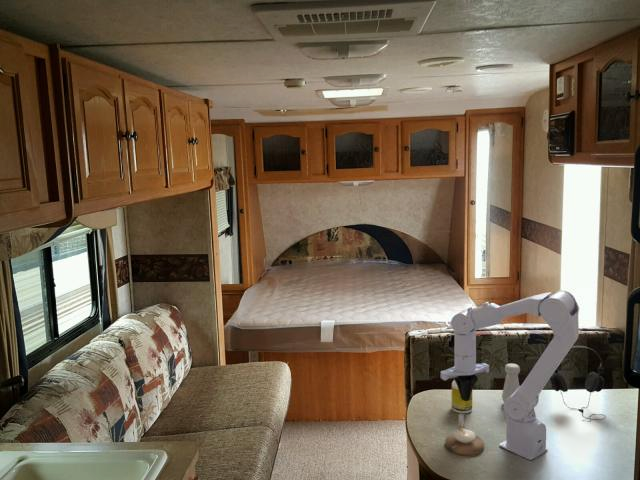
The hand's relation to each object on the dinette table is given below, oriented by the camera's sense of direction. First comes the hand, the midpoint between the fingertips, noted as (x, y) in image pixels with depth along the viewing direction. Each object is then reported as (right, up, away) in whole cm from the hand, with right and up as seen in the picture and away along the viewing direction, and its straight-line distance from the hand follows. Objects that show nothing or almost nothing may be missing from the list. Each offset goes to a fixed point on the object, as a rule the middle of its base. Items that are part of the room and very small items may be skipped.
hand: (465, 399), depth 153 cm
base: (-2, -11, -6) cm, 12 cm away
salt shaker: (+19, -7, +16) cm, 26 cm away
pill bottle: (+3, -8, +14) cm, 17 cm away
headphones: (+37, -7, +10) cm, 38 cm away
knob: (-2, -8, -6) cm, 10 cm away
